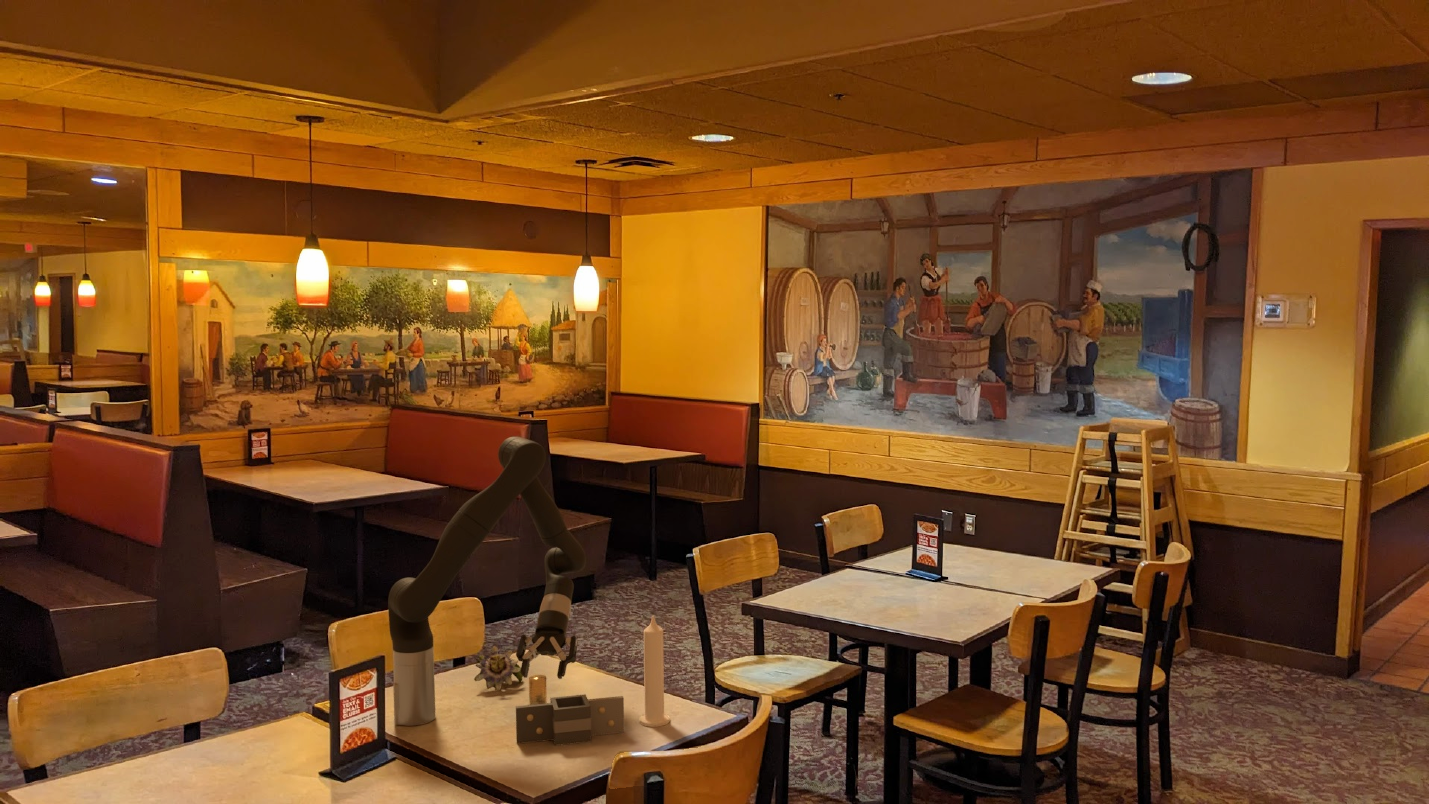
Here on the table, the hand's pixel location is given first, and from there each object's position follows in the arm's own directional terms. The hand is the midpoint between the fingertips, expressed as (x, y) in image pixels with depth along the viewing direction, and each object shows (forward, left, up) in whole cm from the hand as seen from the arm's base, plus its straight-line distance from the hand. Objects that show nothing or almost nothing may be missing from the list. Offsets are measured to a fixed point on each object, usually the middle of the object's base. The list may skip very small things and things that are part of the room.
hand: (541, 676), depth 254 cm
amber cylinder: (-1, -3, -9) cm, 10 cm away
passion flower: (-9, +24, -9) cm, 27 cm away
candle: (+25, -12, -9) cm, 29 cm away
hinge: (+5, -16, -9) cm, 19 cm away
